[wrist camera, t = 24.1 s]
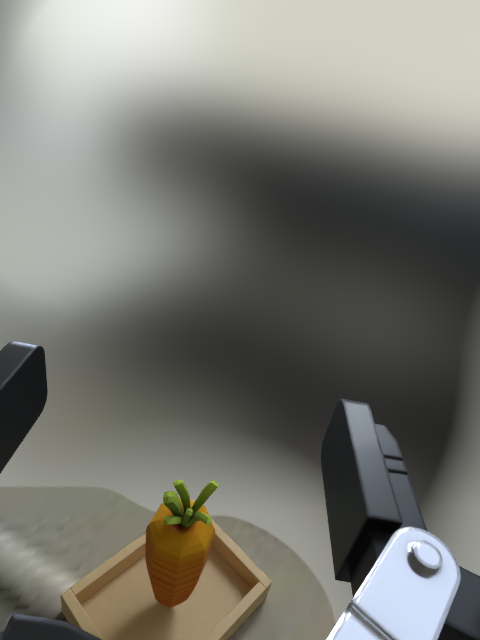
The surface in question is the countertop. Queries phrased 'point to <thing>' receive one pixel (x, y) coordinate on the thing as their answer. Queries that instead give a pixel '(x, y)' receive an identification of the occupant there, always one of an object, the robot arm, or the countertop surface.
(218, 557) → the tray
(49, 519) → the countertop surface
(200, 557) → the carrot
